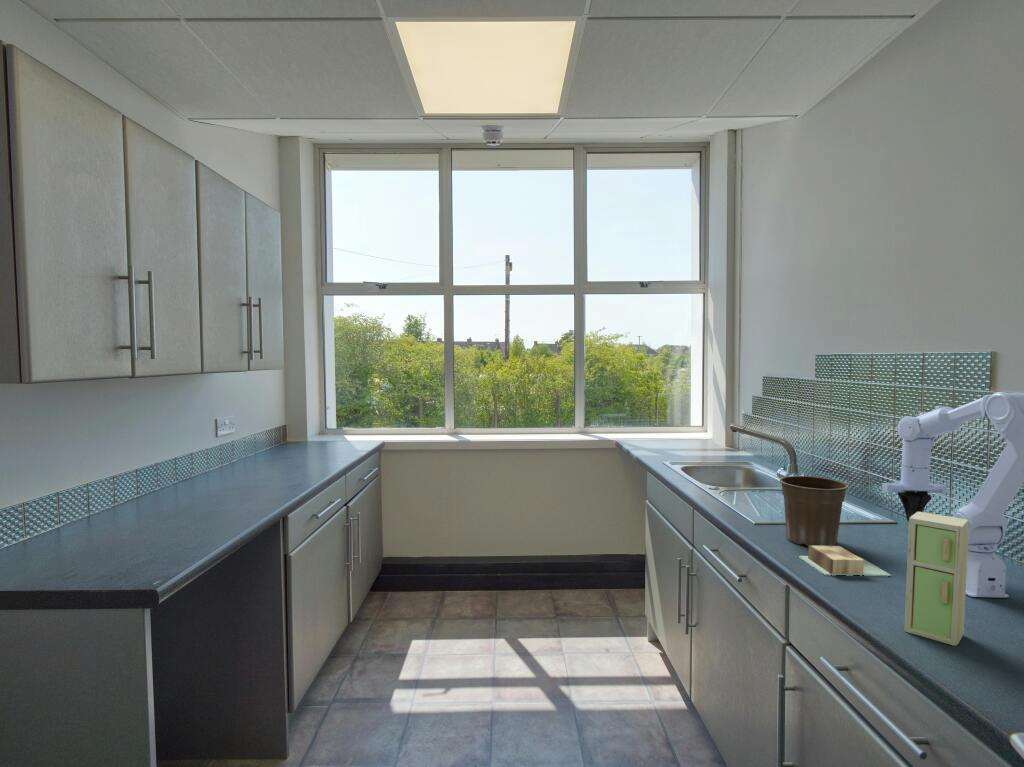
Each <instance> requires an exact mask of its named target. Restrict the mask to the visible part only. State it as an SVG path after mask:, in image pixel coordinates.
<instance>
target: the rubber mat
mask: <svg viewBox="0 0 1024 767" xmlns="http://www.w3.org/2000/svg"><path fill="white" fill-rule="evenodd" d="M798 557H799V559H800V560H802V561H803V560H804V561H803V562H805V563H807V565H809V566H811V567H812V568H813V567H814V568H813V569H815V570H816V571H818V572H819V573H820V574H822V575H823V574H824V575H823V576H829V577H830V576H831V575H832V576H836V575H846V576H845V577H854V576H853V575H860V576H859V577H888V576H892V574H891V573H888V572H886V571H885V570H883V569H881V568H880V567H879V566H877V565H875V564H873V563H872V562H869V561H868V560H866V559H864V558H862V557H861V556H858V557H859V558H861V559H863V560H864V569H863V574H830V573H829V572H827V571H826V570H824V569H823V568H821V567H820V566H819V565H817V564H816V563H814V562H813V561H811V560H810V559H808V555H798ZM862 575H864V576H862Z"/></svg>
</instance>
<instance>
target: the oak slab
mask: <svg viewBox="0 0 1024 767" xmlns="http://www.w3.org/2000/svg"><path fill="white" fill-rule="evenodd" d="M807 556H808V559H810V560H811V561H813V562H814V563H816V564H817V565H819V566H820V567H821V568H823V569H824V570H826V571H827V572H829V573H830V574H863V569H864V560H865V559H864V558H863V559H864V560H863V559H861V558H862V557H861V558H859V557H860V556H858V555H855V554H854V553H852V552H851V551H849V550H848V549H845V548H844V547H842V546H840V545H835V546H815V545H809V547H808V555H807Z"/></svg>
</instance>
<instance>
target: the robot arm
mask: <svg viewBox="0 0 1024 767" xmlns="http://www.w3.org/2000/svg"><path fill="white" fill-rule="evenodd" d="M982 418H983V419H984V418H988V419H989V420H990V422H991V423H992V424H993V426H994V427H995V429H996V430H997V432H998V433H999V435H1001V437H1002V438H1003V439H1005V440H1006V442H1007V443H1006V445H1005V447H1004V449H1002V452H1001V453H1000V455H999V457H998V458H997V460H996V462H995V463H994V464H993V466H992V468H991V470H990V472H989V473H988V475H987V477H986V478H985V480H984V481H983V483H982V484H981V486H980V488H979V489H978V491H977V493H976V495H975V496H974V498H973V499H972V501H971V502H970V503H967V504H966V505H964V506H962V507H961V508H959V509H957V510H956V511H955V513H954V514H953V515H952V516H951V517H956V518H962V519H967V520H969V532H968V553H967V574H966V596H969V597H972V598H1009V597H1010V596H1009V594H1007V593H1006V580H1007V566H1006V564H1005V562H1004V560H1002V559H1001V558H1000V557H998V555H996V553H995V551H997V549H998V545H1001V544H1002V543H1003V542H1004V540H1005V536H1006V530H1007V529H1006V528H1007V527H1008V525H1009V524H1010V522H1009V521H1008V519H1007V518H1006V516H1005V515H1004V513H1005V512H1006V511H1007V509H1008V507H1010V504H1011V503H1012V501H1014V498H1015V497H1016V495H1017V493H1019V491H1020V489H1021V487H1022V486H1023V485H1024V392H1020V393H1019V392H1003V391H999V392H994V393H992V394H985V395H983V397H981V398H978V399H976V400H973V401H971V402H967V403H966V404H963V405H960V406H958V407H955V408H953V407H950V406H945V405H937V406H934V410H931V411H929V412H925V411H922V412H919V414H918V416H907V415H906V416H904V417H902V418H901V419H899V421H898V423H897V433H898V436H899V437H900V439H902V447H901V448H902V450H901V451H902V453H901V470H900V481H899V482H898V481H897V482H888V483H887V482H885V483H884V482H882V484H881V485H882V487H881V488H882V489H881V491H882V492H884V493H886V494H891V493H896V494H897V496H898V498H899V499H900V502H901V503H902V506H903V509H904V514H905V517H906V521H907V522H908V523H909V518H910V517H911V516H912V515H914V514H915V513H916V512H924V509H925V507H926V506H927V505H928V504H929V502H930V501H931V500H932V495H931V494H944V495H945V494H946V495H947V493H948V486H947V485H945V484H943V483H942V484H941V483H930V476H931V474H930V473H931V457H932V448H933V447H935V444H934V443H935V440H936V439H937V438H938V437H939V436H942V435H946V434H949V433H952V432H956V431H958V430H960V428H961V426H962V424H963V423H966V422H971V421H974V420H979V419H982ZM928 493H929V494H928Z"/></svg>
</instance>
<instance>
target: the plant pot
mask: <svg viewBox="0 0 1024 767" xmlns="http://www.w3.org/2000/svg"><path fill="white" fill-rule="evenodd" d="M779 482H780V483H781V489H782V490H781V491H782V492H781V494H782V496H783V501H784V503H783V504H784V515H785V516H784V517H785V518H784V519H785V536H786V539H787V540H789V541H790V542H791V543H794V544H796V545H800V546H801V545H806V547H808V548H809V545H815V546H837V544H838V537H839V530H840V522H841V514H842V509H843V508H842V507H843V503H844V502H845V497H846V493H847V492H846V490H848V488H849V485H848V484H847V483H846V482H843V481H839V480H836V479H832V478H826V477H820V476H811V475H810V476H809V475H790V476H789V475H788V476H784V477H781V478H779Z"/></svg>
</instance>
